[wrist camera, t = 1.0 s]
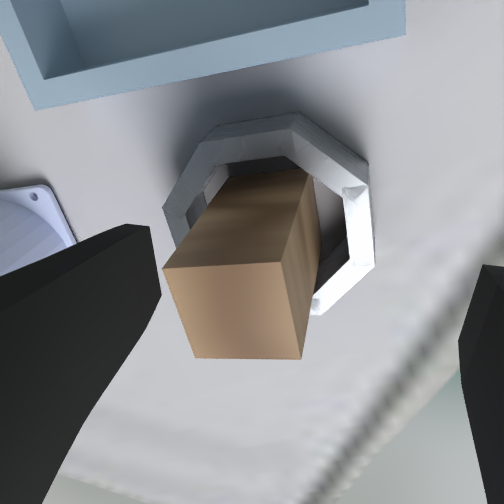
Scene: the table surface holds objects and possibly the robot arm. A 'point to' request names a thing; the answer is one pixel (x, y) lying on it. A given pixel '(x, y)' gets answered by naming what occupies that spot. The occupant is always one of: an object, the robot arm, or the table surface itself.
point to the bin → (173, 39)
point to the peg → (250, 268)
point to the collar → (309, 159)
